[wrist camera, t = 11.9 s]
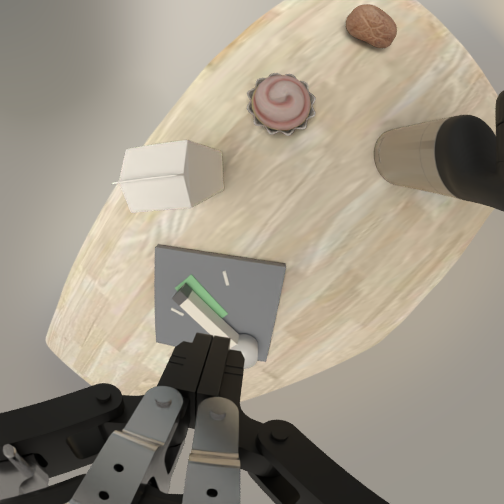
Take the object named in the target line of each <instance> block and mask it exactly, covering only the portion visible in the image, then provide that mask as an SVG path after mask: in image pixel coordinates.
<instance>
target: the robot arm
mask: <svg viewBox="0 0 504 504" xmlns="http://www.w3.org/2000/svg"><path fill="white" fill-rule="evenodd" d="M374 158H375V163H376V166H377V169H378V171H379V172H380V174H381V175H382V176H383V178H384V179H386V180H387V181H388V182H390V183H392V184H395V185H399V186H404V187H409V188H414V189H419V190H423V191H428V192H433V193H437V194H441V195H446V196H450V197H454V198H458V199H462V200H466V201H471V202H475V203H479V204H483V205H487V206H490V207H493V208H496V209H499V210H501V211H504V91H502V92H501V93H500V94H499V96H498V98H497V100H496V135H495V134H494V132H493V131H492V129H491V128H490V127H489V126H488V125H487V124H486V123H485V122H484V121H483V120H481V119H480V118H478V117H475V116H472V115H459V116H454V117H449V118H444V119H439V120H434V121H429V122H424V123H420V124H415V125H411V126H406V127H402V128H397V129H393V130H390V131H387V132H385V133H384V134H382V135H381V137H380V138H379V139H378V141H377V143H376V146H375V150H374ZM230 341H231V338H228V337H222V336H216V335H214V337H213V335H209V334H204V333H198V332H197V333H196V335H195V337H194V340H193V342H192V343H191V342H186V341H183V342H181V343H180V344H179V345H177V346H176V347H175V349H174V351H173V353H172V356H171V357H170V359H169V362H168V364H167V366H166V368H165V370H164V372H163V374H162V376H161V378H160V381H159V383H158V385H157V387H153V388H151V389H149V390H148V391H147V392H146V393H145V395H141V396H127V395H122V394H121V392H120V390H119V389H118V388H117V387H115V386H114V385H111V384H106V383H101V384H96V385H93V386H90V387H88V388H85V389H82V390H79V391H76V392H73V393H70V394H67V395H64V396H61V397H57V398H54V399H51V400H48V401H44V402H41V403H37V404H34V405H30V406H27V407H23V408H19V409H16V410H12V411H8V412H4V413H0V504H240V469H243V470H245V471H248V474H249V475H250V476H251V478H252V479H253V480H254V481H255V482H256V483H257V484H258V486H260V488H261V489H262V490H263V491H264V492H265V493H266V494H267V495H268V496H269V497H270V498H271V499H272V501H274V503H275V504H389V503H388V502H386V501H385V500H384V499H382V498H381V497H379V496H378V495H377V494H375V493H374V492H372V491H371V490H370V489H368V488H367V487H366V486H364V485H363V484H362V483H361V482H359V481H358V480H357V479H355V478H354V477H353V476H352V475H350V474H349V473H347V471H345V470H344V469H343V468H342V467H340V466H339V465H338V464H337V463H336V462H334V461H333V460H332V459H331V458H330V457H328V456H327V455H326V454H325V453H324V452H323V451H322V450H320V449H319V448H318V447H317V446H316V445H315V444H314V443H312V442H311V441H310V440H309V439H308V438H307V437H306V436H305V435H304V434H302V433H301V432H300V431H299V430H298V429H297V428H296V427H295V426H294V425H293V424H291V423H289V422H286V421H283V420H271V421H268V422H266V423H261V422H258V421H255V420H253V419H251V418H249V417H248V416H247V415H245V414H244V413H243V411H242V410H241V407H240V396H241V387H242V379H243V371H244V362H245V358H244V356H243V354H242V352H241V351H238V350H231V349H230ZM188 428H193V429H195V431H194V438H193V444H192V450H191V453H190V455H189V459H188V465H187V473H186V479H185V487H184V493H183V494H168V492H169V488H170V481H171V477H172V474H173V472H174V469H175V467H176V464H177V462H178V459H179V456H180V454H181V451H182V449H183V446H184V443H185V438H186V434H187V431H188ZM92 463H93V464H92ZM89 464H92V466H91V467H90V469H89V470H88V472H87V474H82V475H79V476H76V477H73V478H71V479H68V480H65V481H63V482H60V483H57V484H54V485H51V486H48V481H49V478H51V477H54V476H57V475H60V474H63V473H67V472H69V471H72V470H75V469H78V468H81V467H84V466H86V465H89Z"/></svg>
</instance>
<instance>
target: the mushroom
mask: <svg viewBox="0 0 504 504" xmlns="http://www.w3.org/2000/svg"><path fill="white" fill-rule="evenodd" d="M346 29H347V31H348V32H349V33H350V34H351V35H352V36H353V37H355V38H357V39H360V40H363V41H365V42H367V43H369V44H371V45H372V46H375V47H377V48H386V47H388V46H390V45H391V43H392V41H393V40H394V38H395V37H396V34H397V27H396V24H395V22H394V21H393V19H392V18H391V17H390V16H389V15H388V14H386V13H385V12H384V11H383V10H381V9H380V8H378V7H376V6H373V5H369V4H368V5H360V6H358V7H356V8H355V9H354V10H353V11H352V12H351V13H350V15H349V16H348V17H347V19H346Z"/></svg>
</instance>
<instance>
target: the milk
mask: <svg viewBox="0 0 504 504" xmlns="http://www.w3.org/2000/svg"><path fill="white" fill-rule="evenodd" d="M117 183H119V184H120V187H121V189H122V192H123V194H124V197H125V199H126V202H127V204H128V207H129V209H130V211H131V212H132V213H134V212H146V211H158V210H172V209H187V208H192V207H194V206H196V205H198V204H199V203H201V202H203V201H205V200H207V199H208V198H210V197H212V196H214V195H216V194H217V193H219V192H221V191H223V190H224V183H223V163H222V152H221V151H219V150H216V149H213V148H210V147H207V146H204V145H201V144H198V143H195V142H192V141H189V140H181V141H173V142H166V143H159V144H153V145H147V146H141V147H135V148H130V149H127V150H126V152H125V156H124V161H123V165H122V169H121V174H120V179H119V182H114V183H112V184H117Z"/></svg>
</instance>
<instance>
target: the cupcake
mask: <svg viewBox="0 0 504 504" xmlns="http://www.w3.org/2000/svg"><path fill="white" fill-rule="evenodd" d="M247 95H248V97H249V99H250V102H249V104H248V105H247V110H248V112H249V113H251V114H252V115H254V125H257V126H264V127H265V128H266V130H267V131H268V133H269V134H275V133H278V132H282V133H283V134H285V135H287V136H290V135H291V134H292V133H293V132H294V130H295V129H306V127H307V120H308V119H309V118H311V117H314V116H315V111H314V109H313V106H312V105H313V104H314V102H315V97H314V95H313V94H311V93H310V92H309V90H308V84H307V83H306V82H304V81H299V80H297V79H296V77H295V76H294V75H292V74H286V75H283V76H282V75H280V74H278V73H273V74H270V75H269V77H268V78H260V79H257V81H256V86H255V88H253V89H251V90H249V91H248V92H247Z"/></svg>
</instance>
